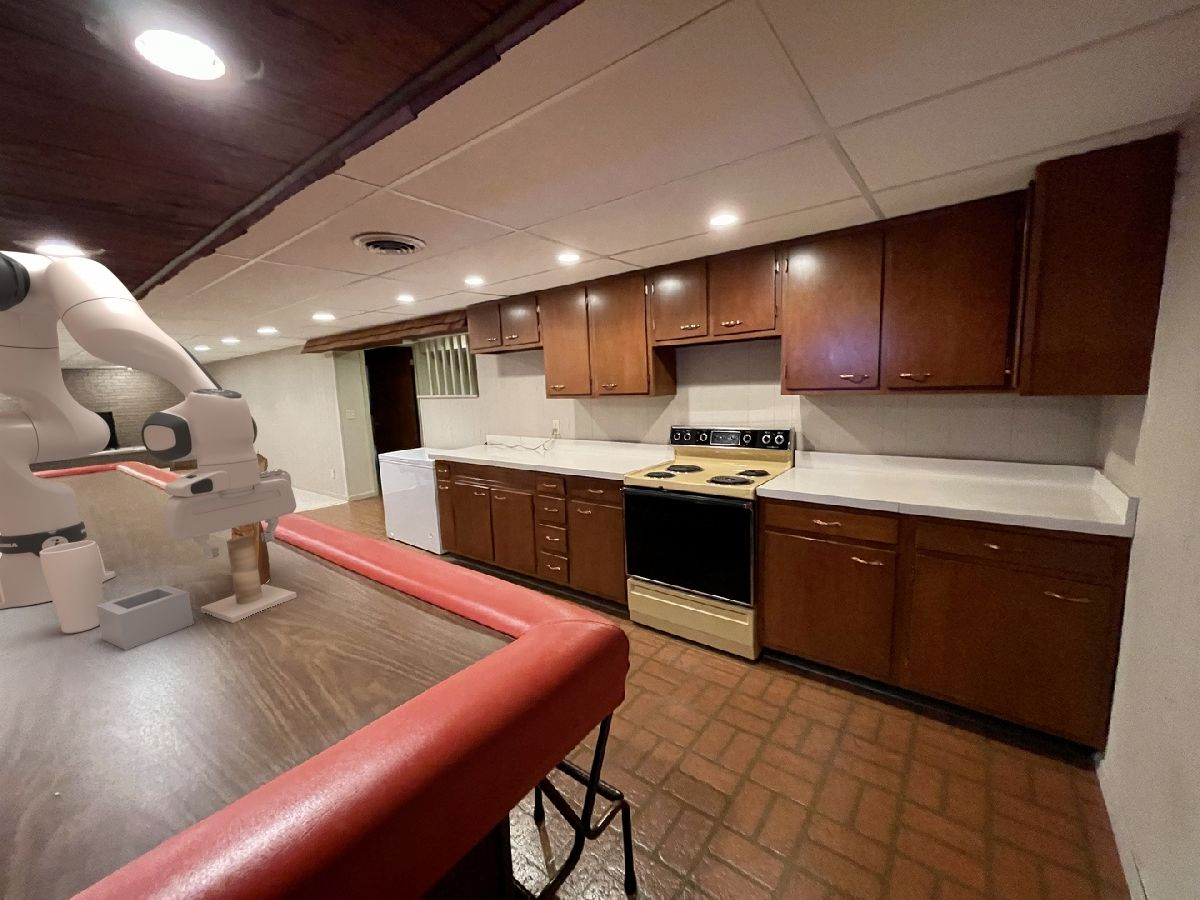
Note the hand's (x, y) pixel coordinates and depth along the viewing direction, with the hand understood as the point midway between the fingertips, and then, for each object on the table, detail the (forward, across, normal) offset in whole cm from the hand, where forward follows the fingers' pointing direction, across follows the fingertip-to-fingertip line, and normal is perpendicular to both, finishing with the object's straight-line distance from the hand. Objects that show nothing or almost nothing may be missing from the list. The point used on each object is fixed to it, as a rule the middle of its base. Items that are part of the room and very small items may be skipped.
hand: (241, 548), depth 89 cm
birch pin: (+10, 0, 0) cm, 10 cm away
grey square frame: (+11, +13, -5) cm, 18 cm away
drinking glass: (+11, +17, -19) cm, 28 cm away
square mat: (+11, 0, 0) cm, 11 cm away
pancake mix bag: (+11, -9, -15) cm, 21 cm away
